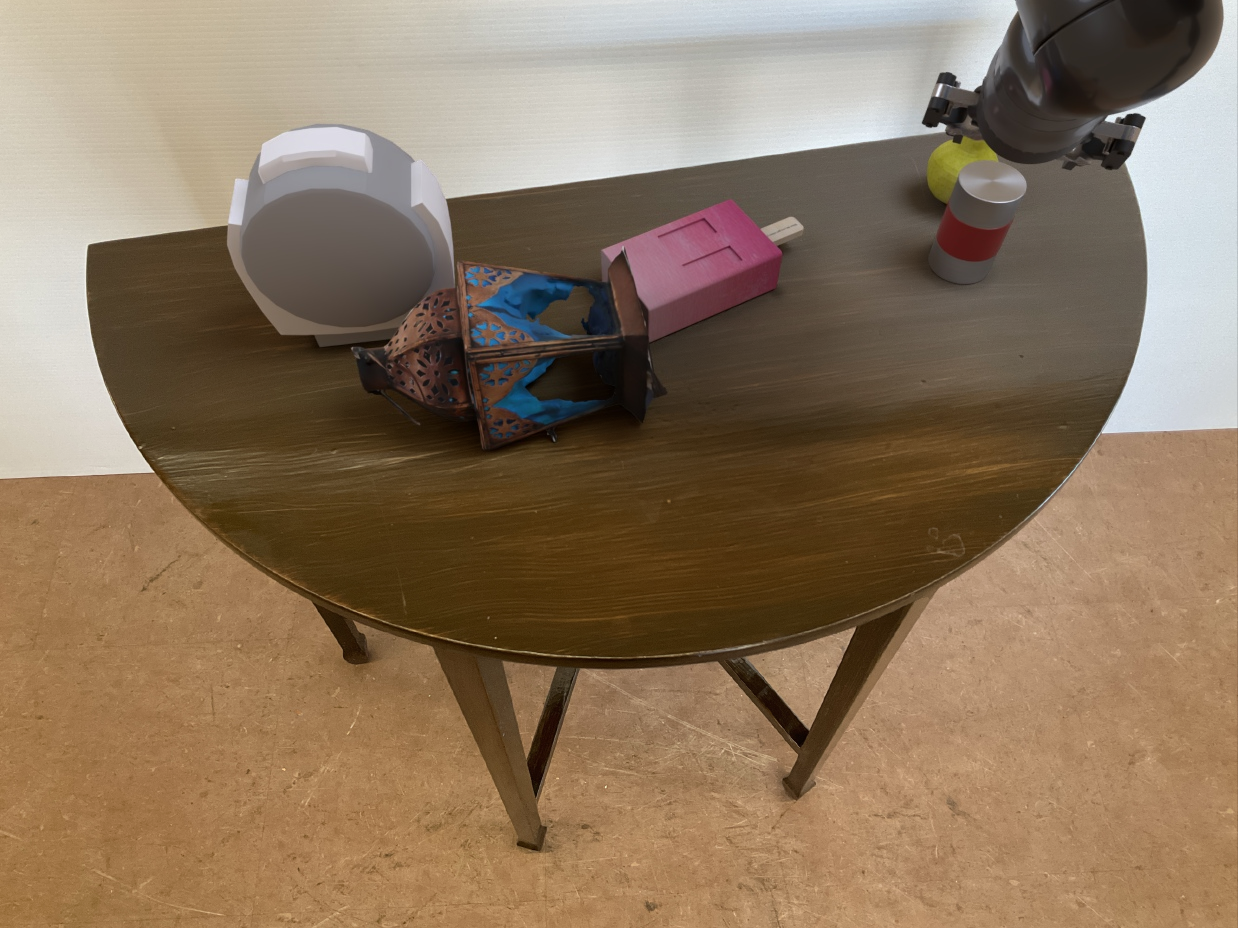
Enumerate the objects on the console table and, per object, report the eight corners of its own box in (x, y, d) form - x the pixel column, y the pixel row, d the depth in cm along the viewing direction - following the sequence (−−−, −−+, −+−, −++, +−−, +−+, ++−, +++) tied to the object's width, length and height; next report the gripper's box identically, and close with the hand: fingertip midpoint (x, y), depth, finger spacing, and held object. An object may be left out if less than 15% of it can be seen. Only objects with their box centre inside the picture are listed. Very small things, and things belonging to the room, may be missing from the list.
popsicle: (829, 233, 82) (648, 309, 77) (820, 270, 86) (647, 345, 81) (774, 179, 86) (599, 248, 81) (768, 217, 90) (601, 284, 85)
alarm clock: (466, 280, 86) (424, 97, 69) (469, 343, 81) (425, 162, 65) (285, 300, 85) (198, 119, 68) (278, 365, 80) (182, 188, 63)
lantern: (641, 408, 84) (383, 445, 81) (623, 240, 80) (350, 271, 77) (681, 446, 69) (365, 494, 65) (662, 239, 65) (322, 279, 61)
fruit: (932, 225, 89) (969, 123, 79) (908, 183, 93) (940, 81, 83) (994, 215, 90) (1039, 113, 80) (968, 174, 94) (1007, 72, 84)
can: (1002, 266, 86) (1041, 184, 77) (962, 294, 84) (998, 212, 75) (955, 234, 88) (987, 151, 80) (914, 260, 86) (944, 177, 78)
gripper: (1198, 49, 50) (1129, 115, 65) (954, 1, 54) (942, 74, 69) (1144, 179, 52) (1089, 213, 67) (911, 123, 55) (908, 168, 71)
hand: (1014, 143), depth 68 cm, fingers open, 8 cm apart
